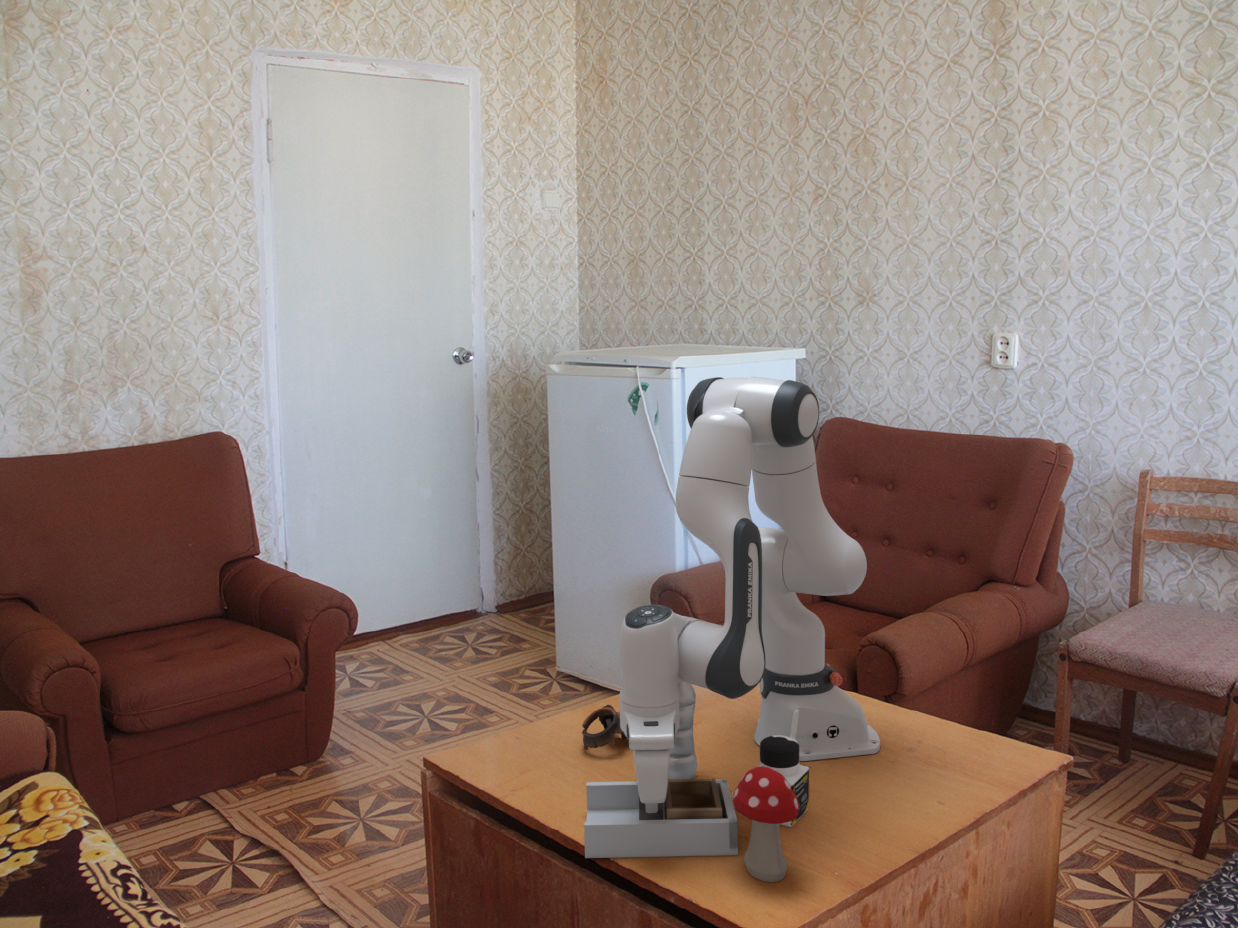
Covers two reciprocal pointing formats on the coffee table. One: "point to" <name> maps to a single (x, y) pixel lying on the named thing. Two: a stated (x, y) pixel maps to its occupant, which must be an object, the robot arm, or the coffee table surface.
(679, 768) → the plastic bottle
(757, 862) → the decorative mushroom
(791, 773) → the medicine bottle
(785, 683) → the robot arm
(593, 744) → the broken clay pot
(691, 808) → the crate
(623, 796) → the bay
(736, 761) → the coffee table surface
